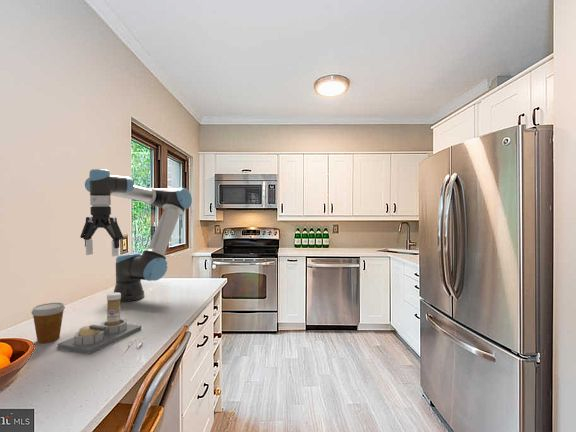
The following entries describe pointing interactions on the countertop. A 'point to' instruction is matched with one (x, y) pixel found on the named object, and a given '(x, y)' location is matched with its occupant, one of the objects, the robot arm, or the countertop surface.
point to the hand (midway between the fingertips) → (102, 255)
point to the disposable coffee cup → (48, 321)
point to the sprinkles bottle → (113, 309)
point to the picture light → (130, 345)
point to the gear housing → (98, 337)
